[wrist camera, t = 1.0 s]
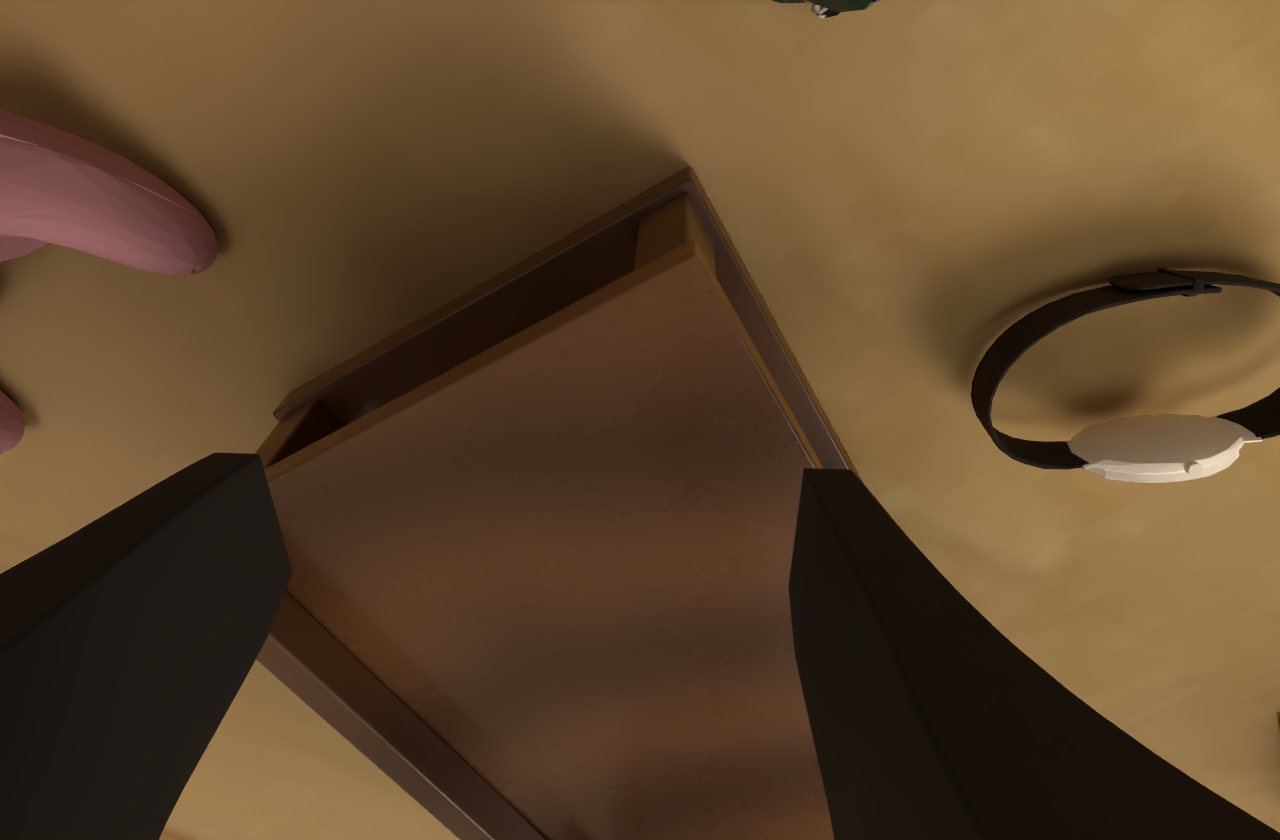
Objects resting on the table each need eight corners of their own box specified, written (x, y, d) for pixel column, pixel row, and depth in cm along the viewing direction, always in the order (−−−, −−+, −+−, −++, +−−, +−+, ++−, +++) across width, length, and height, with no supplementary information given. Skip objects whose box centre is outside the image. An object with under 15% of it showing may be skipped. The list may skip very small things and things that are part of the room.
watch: (962, 453, 22) (1008, 543, 19) (954, 291, 20) (1005, 363, 17) (1283, 400, 21) (1387, 487, 18) (1315, 220, 18) (1443, 283, 15)
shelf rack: (942, 629, 25) (1019, 840, 20) (605, 746, 29) (587, 953, 23) (690, 165, 18) (696, 282, 13) (286, 394, 22) (148, 566, 16)
